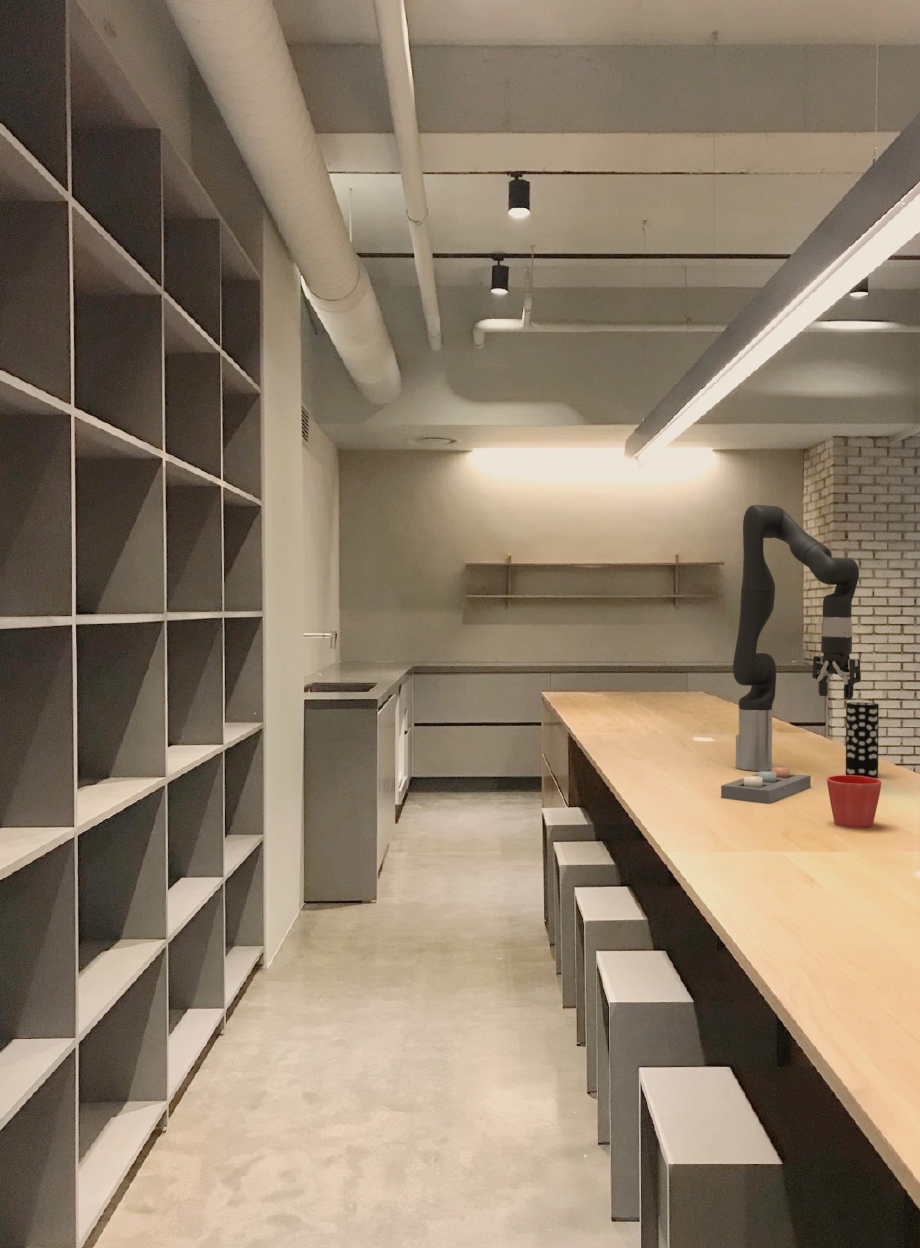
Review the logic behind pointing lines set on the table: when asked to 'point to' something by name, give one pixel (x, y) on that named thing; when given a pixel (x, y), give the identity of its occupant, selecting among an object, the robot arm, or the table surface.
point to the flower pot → (853, 799)
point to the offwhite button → (753, 781)
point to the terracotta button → (781, 772)
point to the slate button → (767, 776)
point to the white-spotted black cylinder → (862, 739)
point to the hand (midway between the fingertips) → (835, 697)
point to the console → (766, 789)
